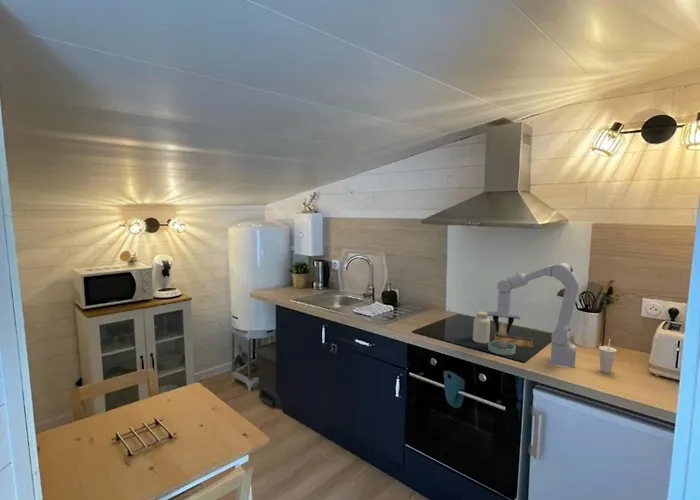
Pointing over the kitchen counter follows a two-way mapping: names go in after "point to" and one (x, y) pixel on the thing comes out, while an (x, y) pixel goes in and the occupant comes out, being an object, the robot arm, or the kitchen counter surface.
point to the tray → (515, 341)
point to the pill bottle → (481, 328)
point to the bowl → (508, 351)
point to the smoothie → (606, 357)
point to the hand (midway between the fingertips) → (502, 332)
